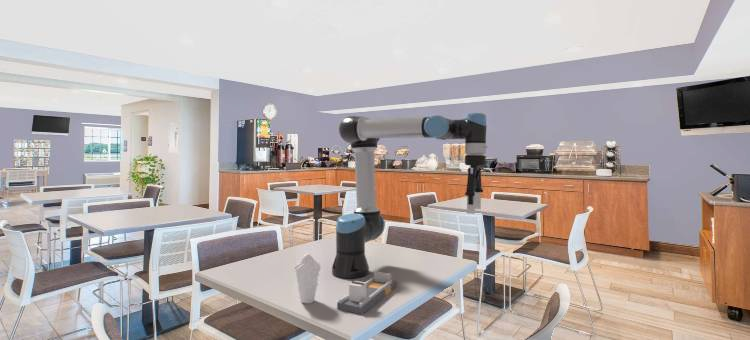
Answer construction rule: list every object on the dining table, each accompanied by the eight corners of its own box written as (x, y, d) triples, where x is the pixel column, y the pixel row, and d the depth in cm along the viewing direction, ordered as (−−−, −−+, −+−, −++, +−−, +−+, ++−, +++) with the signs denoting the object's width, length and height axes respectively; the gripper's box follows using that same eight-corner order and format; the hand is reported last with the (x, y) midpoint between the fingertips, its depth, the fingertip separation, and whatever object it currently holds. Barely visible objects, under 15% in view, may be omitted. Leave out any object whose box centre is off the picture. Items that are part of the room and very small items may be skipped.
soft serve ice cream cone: (296, 296, 123) (296, 249, 122) (321, 295, 123) (321, 249, 123) (292, 306, 114) (292, 256, 114) (319, 305, 115) (319, 255, 114)
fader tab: (348, 300, 114) (349, 283, 114) (355, 295, 118) (355, 279, 118) (360, 302, 112) (360, 285, 112) (366, 298, 116) (366, 281, 116)
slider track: (337, 308, 113) (337, 293, 112) (374, 282, 137) (374, 269, 137) (362, 314, 109) (363, 298, 109) (396, 286, 133) (397, 272, 133)
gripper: (480, 154, 123) (479, 216, 124) (489, 155, 146) (488, 207, 146) (458, 154, 126) (457, 214, 127) (470, 155, 149) (469, 206, 150)
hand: (474, 211), depth 137 cm, fingers open, 13 cm apart
